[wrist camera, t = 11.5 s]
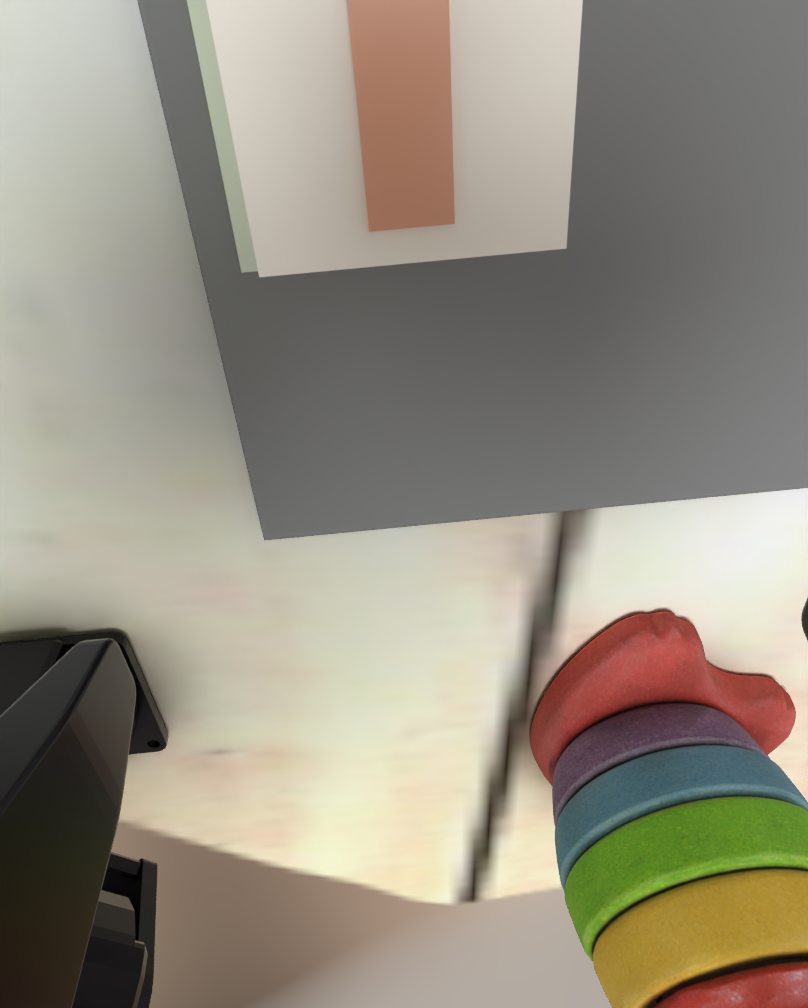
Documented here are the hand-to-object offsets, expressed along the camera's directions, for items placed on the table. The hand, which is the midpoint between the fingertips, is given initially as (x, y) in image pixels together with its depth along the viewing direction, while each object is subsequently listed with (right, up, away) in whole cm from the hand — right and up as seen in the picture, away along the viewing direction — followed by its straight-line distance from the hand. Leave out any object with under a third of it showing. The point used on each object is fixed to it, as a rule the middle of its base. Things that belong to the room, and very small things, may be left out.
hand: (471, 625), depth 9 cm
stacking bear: (+9, -8, +21) cm, 24 cm away
